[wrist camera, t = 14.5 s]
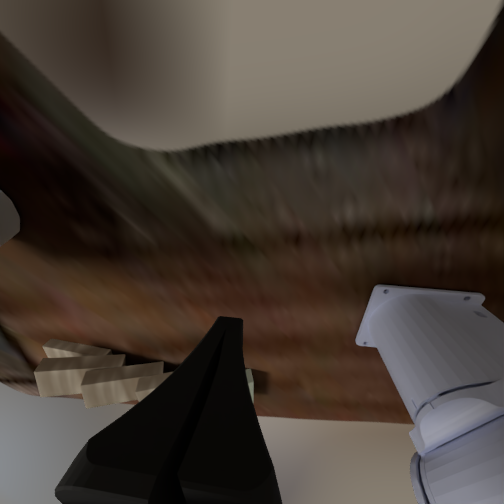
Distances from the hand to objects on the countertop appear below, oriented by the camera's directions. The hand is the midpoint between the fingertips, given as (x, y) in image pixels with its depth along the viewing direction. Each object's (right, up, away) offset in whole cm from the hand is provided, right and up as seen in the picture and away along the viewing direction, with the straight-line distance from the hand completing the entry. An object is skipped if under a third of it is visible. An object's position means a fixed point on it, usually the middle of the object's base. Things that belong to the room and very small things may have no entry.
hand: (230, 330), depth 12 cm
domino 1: (-19, -12, +19) cm, 29 cm away
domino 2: (-17, -13, +18) cm, 27 cm away
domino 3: (-11, -14, +18) cm, 25 cm away
